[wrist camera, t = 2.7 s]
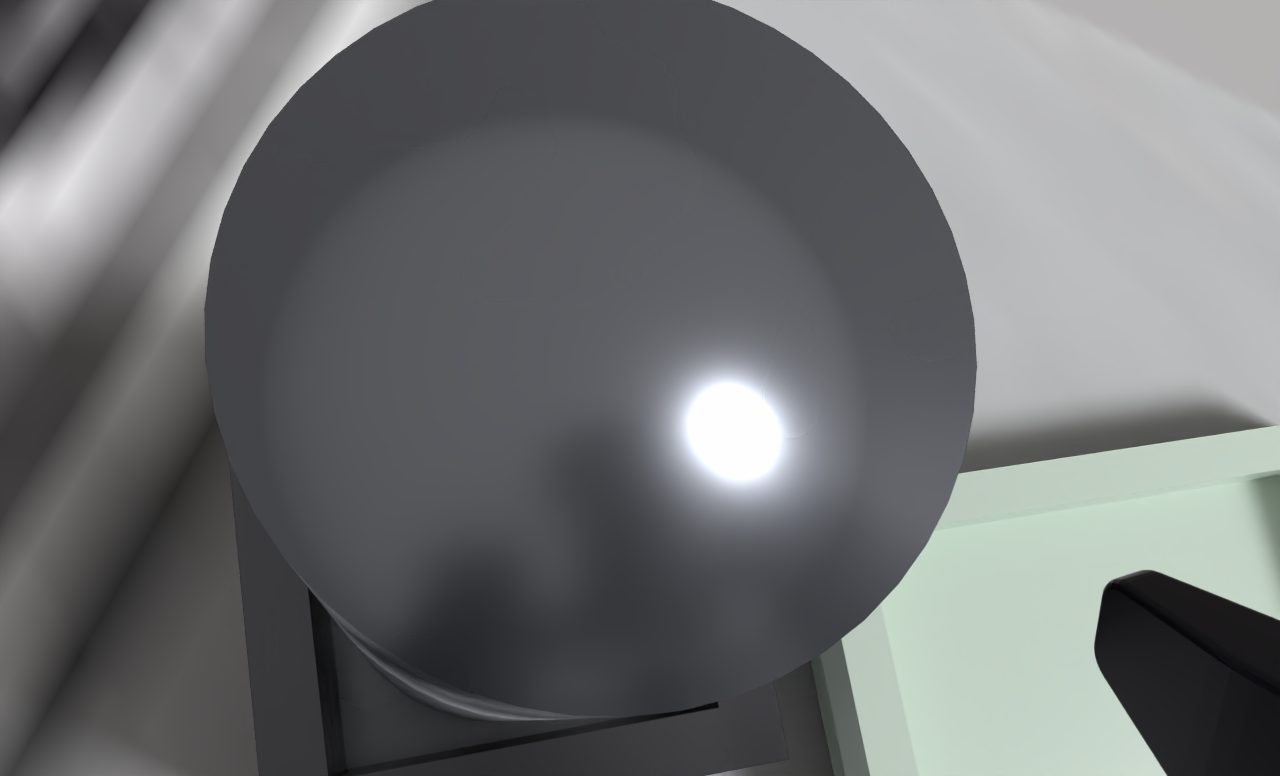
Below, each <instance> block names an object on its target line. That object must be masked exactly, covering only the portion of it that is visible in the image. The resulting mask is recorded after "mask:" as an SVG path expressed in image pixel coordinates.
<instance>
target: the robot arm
mask: <svg viewBox="0 0 1280 776" xmlns="http://www.w3.org/2000/svg"><path fill="white" fill-rule="evenodd" d="M1094 653H1095V658H1096V662H1097V665H1098V667H1099V669H1100V671H1101V673H1102V675H1103V677H1104V678H1105V680H1106V681H1107V683H1108V684H1109V686H1110V688H1111V689H1112V691H1113V692H1114V694H1115V695H1116V697H1117V699H1118V700H1119V702H1120V703H1121V705H1122V706H1123V708H1124V709H1125V711H1126V713H1127V714H1128V716H1129V717H1130V719H1131V720H1132V722H1133V724H1134V725H1135V727H1136V728H1137V730H1138V731H1139V733H1140V735H1141V736H1142V738H1143V739H1144V741H1145V742H1146V744H1147V745H1148V747H1149V749H1150V750H1151V752H1152V753H1153V755H1154V756H1155V758H1156V760H1157V761H1158V763H1159V764H1160V766H1161V767H1162V769H1163V770H1164V772H1165V774H1166V775H1167V776H1280V620H1278V619H1276V618H1273V617H1271V616H1268V615H1266V614H1263V613H1261V612H1258V611H1256V610H1253V609H1251V608H1248V607H1246V606H1243V605H1241V604H1238V603H1236V602H1233V601H1231V600H1228V599H1226V598H1223V597H1221V596H1218V595H1216V594H1213V593H1211V592H1208V591H1206V590H1203V589H1201V588H1198V587H1196V586H1193V585H1191V584H1188V583H1185V582H1183V581H1180V580H1178V579H1175V578H1173V577H1170V576H1168V575H1165V574H1163V573H1160V572H1157V571H1154V570H1141V571H1137V572H1134V573H1131V574H1128V575H1125V576H1122V577H1118V578H1115V579H1113V580H1111V581H1109V582H1108V584H1107V585H1106V586H1105V588H1104V590H1103V593H1102V598H1101V605H1100V611H1099V617H1098V623H1097V629H1096V635H1095V641H1094Z"/></svg>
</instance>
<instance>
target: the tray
mask: <svg viewBox="0 0 1280 776" xmlns="http://www.w3.org/2000/svg"><path fill="white" fill-rule="evenodd" d="M1141 570H1154V571H1157V572H1160V573H1163V574H1165V575H1168V576H1170V577H1173V578H1175V579H1178V580H1180V581H1183V582H1185V583H1188V584H1191V585H1193V586H1196V587H1198V588H1201V589H1203V590H1206V591H1208V592H1211V593H1213V594H1216V595H1218V596H1221V597H1223V598H1226V599H1228V600H1231V601H1233V602H1236V603H1238V604H1241V605H1243V606H1246V607H1248V608H1251V609H1253V610H1256V611H1258V612H1261V613H1263V614H1266V615H1268V616H1271V617H1273V618H1276V619H1278V620H1280V425H1278V426H1271V427H1264V428H1258V429H1251V430H1244V431H1238V432H1231V433H1225V434H1218V435H1211V436H1205V437H1198V438H1191V439H1185V440H1178V441H1172V442H1165V443H1158V444H1152V445H1145V446H1138V447H1132V448H1125V449H1118V450H1112V451H1105V452H1099V453H1092V454H1085V455H1079V456H1072V457H1065V458H1059V459H1052V460H1045V461H1039V462H1032V463H1026V464H1019V465H1012V466H1006V467H999V468H992V469H986V470H979V471H972V472H966V473H959V474H958V477H957V480H956V482H955V485H954V488H953V491H952V494H951V497H950V499H949V502H948V504H947V506H946V508H945V510H944V512H943V514H942V516H941V518H940V520H939V522H938V524H937V526H936V527H935V529H934V531H933V533H932V535H931V537H930V539H929V541H928V543H927V545H926V546H925V548H924V549H923V550H922V552H921V553H920V555H919V556H918V558H917V559H916V560H915V562H914V563H913V565H912V566H911V567H910V569H909V570H908V572H907V573H906V575H905V576H904V577H903V579H902V580H901V582H900V583H899V584H898V585H897V586H896V588H895V589H894V590H893V591H892V592H891V593H890V594H889V595H888V596H887V597H886V598H885V599H884V600H883V601H882V602H881V603H880V605H879V606H878V607H877V608H876V609H875V610H874V611H873V612H872V613H871V614H870V615H869V616H868V617H867V618H866V619H865V620H864V621H863V622H862V623H861V624H859V625H858V626H857V627H855V628H854V629H853V630H852V631H850V632H849V633H848V634H847V635H845V636H844V637H843V638H842V639H840V640H839V641H838V642H837V643H835V644H834V645H833V646H832V647H830V648H829V649H828V650H827V651H825V652H824V653H822V654H820V655H819V656H817V657H815V658H814V659H812V660H810V661H811V665H812V670H813V675H814V680H815V685H816V690H817V695H818V700H819V705H820V710H821V714H822V719H823V724H824V729H825V734H826V739H827V744H828V749H829V754H830V759H831V763H832V768H833V773H834V776H1167V775H1166V774H1165V772H1164V770H1163V769H1162V767H1161V766H1160V764H1159V763H1158V761H1157V760H1156V758H1155V756H1154V755H1153V753H1152V752H1151V750H1150V749H1149V747H1148V745H1147V744H1146V742H1145V741H1144V739H1143V738H1142V736H1141V735H1140V733H1139V731H1138V730H1137V728H1136V727H1135V725H1134V724H1133V722H1132V720H1131V719H1130V717H1129V716H1128V714H1127V713H1126V711H1125V709H1124V708H1123V706H1122V705H1121V703H1120V702H1119V700H1118V699H1117V697H1116V695H1115V694H1114V692H1113V691H1112V689H1111V688H1110V686H1109V684H1108V683H1107V681H1106V680H1105V678H1104V677H1103V675H1102V673H1101V671H1100V669H1099V667H1098V665H1097V662H1096V658H1095V653H1094V641H1095V635H1096V629H1097V623H1098V617H1099V611H1100V605H1101V598H1102V593H1103V590H1104V588H1105V586H1106V585H1107V584H1108V582H1109V581H1111V580H1113V579H1115V578H1118V577H1122V576H1125V575H1128V574H1131V573H1134V572H1137V571H1141Z"/></svg>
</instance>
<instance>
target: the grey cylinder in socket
mask: <svg viewBox="0 0 1280 776" xmlns="http://www.w3.org/2000/svg"><path fill="white" fill-rule="evenodd" d="M205 357H206V366H207V372H208V378H209V384H210V390H211V396H212V403H213V409H214V414H215V417H216V420H217V423H218V426H219V429H220V432H221V436H222V439H223V442H224V445H225V448H226V451H227V455H228V458H229V464H230V474H231V485H232V495H233V506H234V517H235V527H236V538H237V548H238V559H239V569H240V580H241V591H242V601H243V612H244V622H245V633H246V643H247V654H248V665H249V675H250V686H251V696H252V707H253V717H254V728H255V738H256V749H257V760H258V770H259V776H706V775H711V774H716V773H721V772H726V771H731V770H736V769H741V768H746V767H751V766H756V765H761V764H766V763H771V762H776V761H781V760H786V759H789V757H788V752H787V747H786V742H785V737H784V731H783V726H782V721H781V716H780V711H779V706H778V701H777V696H776V691H775V686H774V680H776V679H779V678H781V677H783V676H785V675H786V674H788V673H790V672H791V671H793V670H795V669H797V668H798V667H800V666H802V665H803V664H805V663H807V662H808V661H810V660H812V659H814V658H815V657H817V656H819V655H820V654H822V653H824V652H825V651H827V650H828V649H829V648H830V647H832V646H833V645H834V644H835V643H837V642H838V641H839V640H840V639H842V638H843V637H844V636H845V635H847V634H848V633H849V632H850V631H852V630H853V629H854V628H855V627H857V626H858V625H859V624H861V623H862V622H863V621H864V620H865V619H866V618H867V617H868V616H869V615H870V614H871V613H872V612H873V611H874V610H875V609H876V608H877V607H878V606H879V605H880V603H881V602H882V601H883V600H884V599H885V598H886V597H887V596H888V595H889V594H890V593H891V592H892V591H893V590H894V589H895V588H896V586H897V585H898V584H899V583H900V582H901V580H902V579H903V577H904V576H905V575H906V573H907V572H908V570H909V569H910V567H911V566H912V565H913V563H914V562H915V560H916V559H917V558H918V556H919V555H920V553H921V552H922V550H923V549H924V548H925V546H926V545H927V543H928V541H929V539H930V537H931V535H932V533H933V531H934V529H935V527H936V526H937V524H938V522H939V520H940V518H941V516H942V514H943V512H944V510H945V508H946V506H947V504H948V502H949V499H950V497H951V494H952V491H953V488H954V485H955V482H956V480H957V477H958V474H959V471H960V468H961V465H962V462H963V460H964V456H965V451H966V446H967V442H968V437H969V432H970V427H971V422H972V417H973V412H974V399H975V384H976V370H977V361H976V344H975V327H974V317H973V312H972V306H971V301H970V296H969V290H968V285H967V280H966V275H965V272H964V268H963V265H962V262H961V259H960V256H959V253H958V250H957V247H956V243H955V240H954V237H953V234H952V231H951V229H950V227H949V225H948V222H947V220H946V218H945V216H944V214H943V211H942V209H941V207H940V205H939V203H938V201H937V198H936V196H935V194H934V192H933V190H932V188H931V186H930V185H929V183H928V182H927V180H926V178H925V177H924V175H923V173H922V172H921V170H920V168H919V167H918V165H917V164H916V162H915V160H914V159H913V157H912V155H911V154H910V152H909V151H908V149H907V148H906V147H905V145H904V144H903V143H902V142H901V140H900V139H899V138H898V136H897V135H896V134H895V133H894V131H893V130H892V129H891V127H890V126H889V125H888V124H887V122H886V121H885V120H884V119H883V117H882V116H881V115H880V114H879V113H878V112H877V111H876V110H875V109H874V108H873V107H872V106H871V105H870V104H869V103H868V101H867V100H866V99H865V98H864V97H863V96H862V95H861V94H860V93H859V92H858V91H857V90H856V89H855V88H854V87H853V86H852V85H851V84H850V83H849V82H848V81H846V80H845V79H844V78H843V77H842V76H840V75H839V74H838V73H837V72H835V71H834V70H833V69H832V68H830V67H829V66H828V65H827V64H825V63H824V62H823V61H822V60H821V59H819V58H818V57H817V56H816V55H814V54H813V53H812V52H810V51H809V50H807V49H805V48H804V47H802V46H801V45H799V44H798V43H796V42H795V41H793V40H791V39H790V38H788V37H787V36H785V35H784V34H782V33H781V32H779V31H777V30H776V29H774V28H772V27H770V26H768V25H766V24H764V23H762V22H760V21H758V20H756V19H754V18H752V17H750V16H748V15H746V14H744V13H742V12H740V11H738V10H736V9H734V8H732V7H729V6H726V5H723V4H721V3H718V2H715V1H712V0H433V1H431V2H428V3H425V4H422V5H420V6H417V7H415V8H413V9H411V10H409V11H407V12H405V13H403V14H401V15H399V16H397V17H395V18H393V19H391V20H390V21H388V22H386V23H384V24H382V25H380V26H378V27H376V28H374V29H373V30H371V31H370V32H368V33H367V34H365V35H364V36H363V37H361V38H360V39H358V40H357V41H355V42H354V43H352V44H351V45H350V46H348V47H347V48H345V49H344V50H342V51H341V52H340V53H338V54H337V55H335V56H334V57H333V58H332V59H331V60H330V61H329V62H328V63H326V64H325V65H324V66H323V67H322V68H321V69H320V70H319V71H318V72H317V73H316V74H314V75H313V76H312V77H311V78H310V79H309V80H308V81H307V82H306V83H305V84H303V85H302V86H301V87H300V88H299V90H298V91H297V92H296V93H295V94H294V96H293V97H292V98H291V99H290V100H289V102H288V103H287V104H286V105H285V106H284V108H283V109H282V110H281V111H280V112H279V114H278V115H277V116H276V117H275V118H274V120H273V121H272V122H271V123H270V124H269V126H268V128H267V129H266V131H265V132H264V134H263V136H262V137H261V139H260V140H259V142H258V144H257V145H256V147H255V149H254V150H253V152H252V153H251V155H250V157H249V158H248V160H247V161H246V163H245V165H244V167H243V169H242V171H241V173H240V176H239V178H238V180H237V182H236V185H235V187H234V189H233V192H232V194H231V196H230V198H229V201H228V203H227V205H226V208H225V210H224V213H223V217H222V220H221V224H220V228H219V231H218V235H217V238H216V242H215V246H214V249H213V253H212V256H211V262H210V270H209V278H208V286H207V294H206V301H205ZM330 615H331V616H332V618H333V619H334V620H335V621H336V622H337V624H338V625H339V626H340V627H341V629H342V630H343V631H344V632H345V634H346V635H347V636H348V637H349V639H350V640H351V641H352V642H353V644H354V645H355V646H356V647H357V648H358V650H359V651H360V652H361V653H362V655H363V656H364V657H365V658H366V659H367V661H368V662H369V663H370V664H371V665H372V666H373V667H374V668H375V669H376V671H377V672H378V673H379V674H380V675H381V676H382V677H384V678H385V679H386V680H387V681H388V682H389V683H391V684H392V685H393V686H394V687H395V688H397V689H398V690H399V691H401V692H403V693H404V694H406V695H407V696H409V697H410V698H412V699H414V700H415V701H417V702H419V703H421V704H423V705H426V706H428V707H430V708H432V709H434V710H437V711H440V712H443V713H446V714H449V715H453V716H456V717H460V718H466V719H472V720H479V721H530V720H557V719H584V718H612V717H626V718H620V719H615V720H610V721H604V722H599V723H594V724H588V725H583V726H577V727H572V728H567V729H561V730H556V731H551V732H545V733H540V734H534V735H529V736H524V737H518V738H513V739H508V740H502V741H497V742H491V743H486V744H481V745H475V746H470V747H465V748H459V749H454V750H448V751H443V752H438V753H432V754H427V755H422V756H416V757H411V758H405V759H400V760H395V761H389V762H384V763H379V764H373V765H368V766H362V767H357V768H352V769H347V764H346V755H345V746H344V737H343V728H342V719H341V710H340V702H339V693H338V684H337V675H336V666H335V657H334V648H333V639H332V630H331V621H330Z"/></svg>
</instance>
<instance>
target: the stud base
mask: <svg viewBox="0 0 1280 776" xmlns="http://www.w3.org/2000/svg"><path fill="white" fill-rule="evenodd" d="M330 621H331V630H332V639H333V648H334V657H335V666H336V675H337V684H338V693H339V702H340V710H341V719H342V728H343V737H344V746H345V755H346V764H347V769H352V768H357V767H362V766H368V765H373V764H379V763H384V762H389V761H395V760H400V759H405V758H411V757H416V756H422V755H427V754H432V753H438V752H443V751H448V750H454V749H459V748H465V747H470V746H475V745H481V744H486V743H491V742H497V741H502V740H508V739H513V738H518V737H524V736H529V735H534V734H540V733H545V732H551V731H556V730H561V729H567V728H572V727H577V726H583V725H588V724H594V723H599V722H604V721H610V720H615V719H620V718H626V717H612V718H584V719H557V720H530V721H479V720H472V719H466V718H460V717H456V716H453V715H449V714H446V713H443V712H440V711H437V710H434V709H432V708H430V707H428V706H426V705H423V704H421V703H419V702H417V701H415V700H414V699H412V698H410V697H409V696H407V695H406V694H404V693H403V692H401V691H399V690H398V689H397V688H395V687H394V686H393V685H392V684H391V683H389V682H388V681H387V680H386V679H385V678H384V677H382V676H381V675H380V674H379V673H378V672H377V671H376V669H375V668H374V667H373V666H372V665H371V664H370V663H369V662H368V661H367V659H366V658H365V657H364V656H363V655H362V653H361V652H360V651H359V650H358V648H357V647H356V646H355V645H354V644H353V642H352V641H351V640H350V639H349V637H348V636H347V635H346V634H345V632H344V631H343V630H342V629H341V627H340V626H339V625H338V624H337V622H336V621H335V620H334V619H333V618H332V616H331V615H330Z"/></svg>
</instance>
